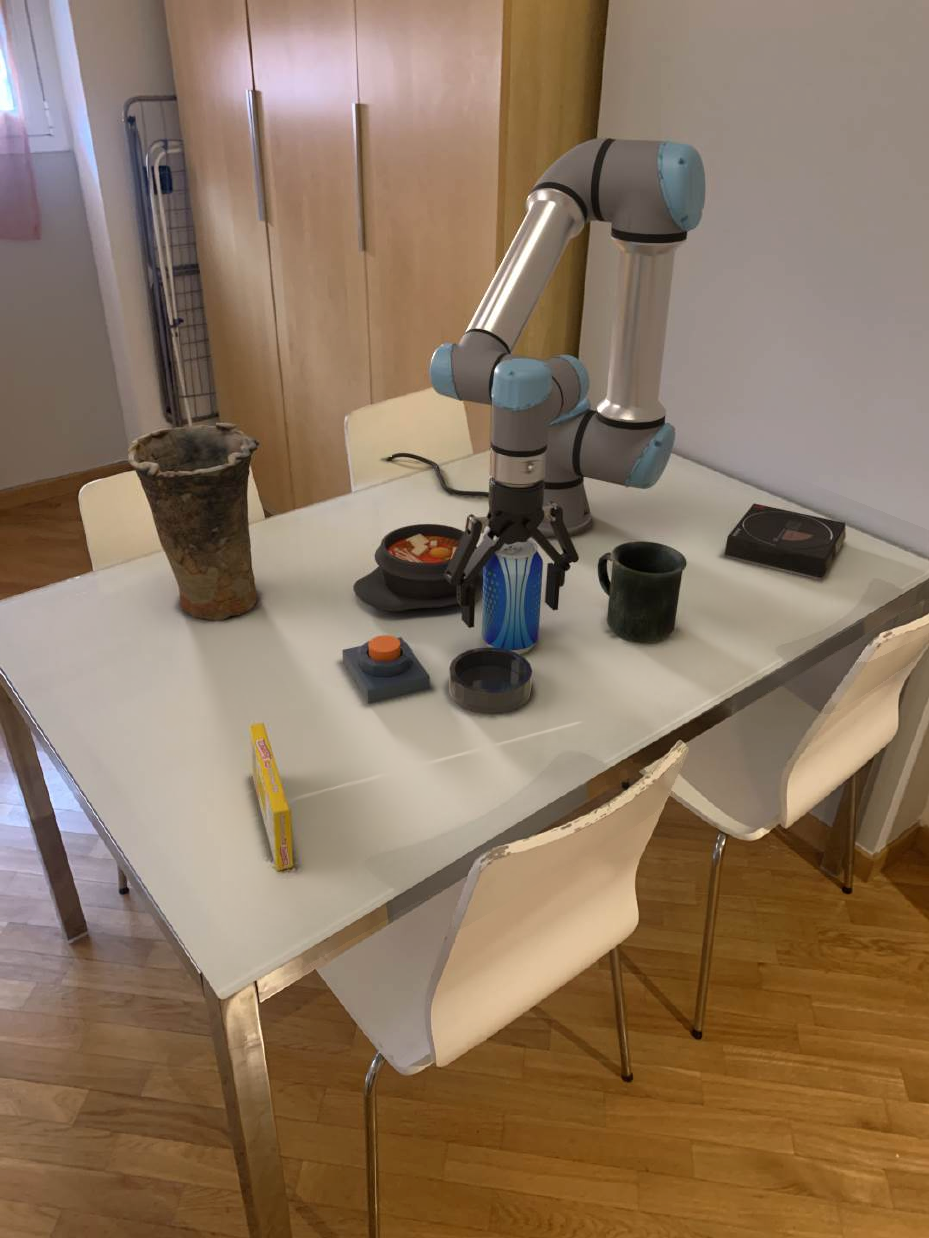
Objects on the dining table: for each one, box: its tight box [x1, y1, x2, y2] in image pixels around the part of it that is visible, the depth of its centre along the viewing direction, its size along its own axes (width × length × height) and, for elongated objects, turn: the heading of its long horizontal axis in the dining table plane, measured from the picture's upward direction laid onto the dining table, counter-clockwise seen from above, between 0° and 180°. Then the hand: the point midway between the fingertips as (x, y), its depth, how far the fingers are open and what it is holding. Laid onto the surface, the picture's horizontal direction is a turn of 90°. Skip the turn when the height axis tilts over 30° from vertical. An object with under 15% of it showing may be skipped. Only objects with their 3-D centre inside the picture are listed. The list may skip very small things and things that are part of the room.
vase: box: [127, 422, 260, 621], centre depth 148 cm, size 18×18×27 cm
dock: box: [448, 646, 533, 715], centre depth 134 cm, size 11×11×4 cm
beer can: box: [481, 538, 544, 655], centre depth 141 cm, size 8×8×16 cm
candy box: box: [249, 722, 294, 871], centre depth 109 cm, size 16×2×8 cm, turn 20°
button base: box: [341, 636, 431, 704], centre depth 136 cm, size 11×9×4 cm
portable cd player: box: [724, 502, 847, 581], centre depth 172 cm, size 16×17×4 cm
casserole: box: [352, 523, 484, 612], centre depth 157 cm, size 25×19×8 cm
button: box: [368, 634, 401, 662], centre depth 135 cm, size 4×4×2 cm
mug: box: [597, 540, 688, 644], centre depth 148 cm, size 11×15×12 cm
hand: (510, 614), depth 142 cm, fingers open, 13 cm apart
